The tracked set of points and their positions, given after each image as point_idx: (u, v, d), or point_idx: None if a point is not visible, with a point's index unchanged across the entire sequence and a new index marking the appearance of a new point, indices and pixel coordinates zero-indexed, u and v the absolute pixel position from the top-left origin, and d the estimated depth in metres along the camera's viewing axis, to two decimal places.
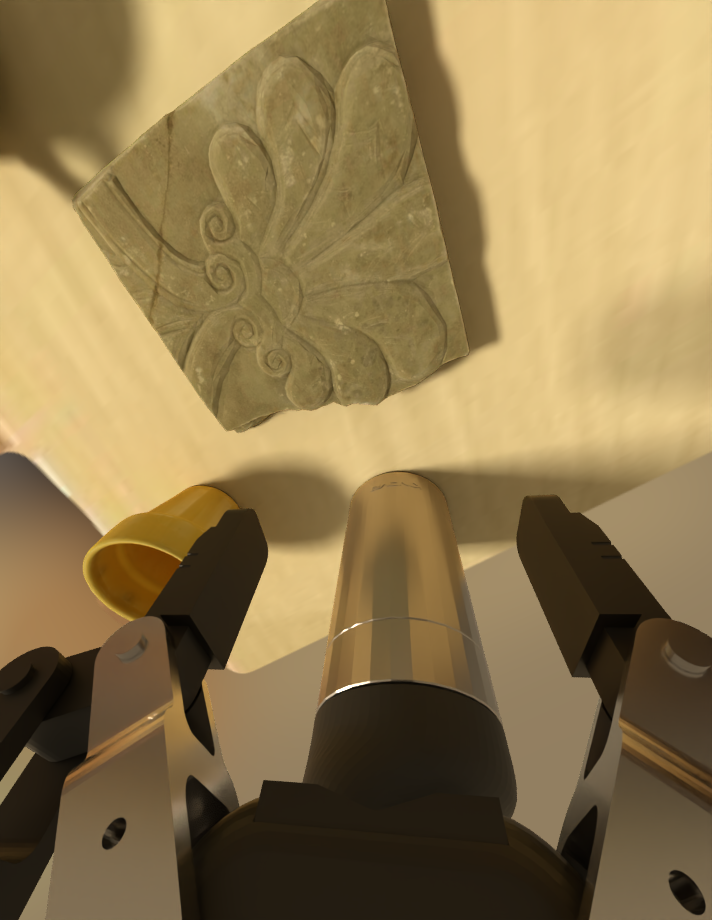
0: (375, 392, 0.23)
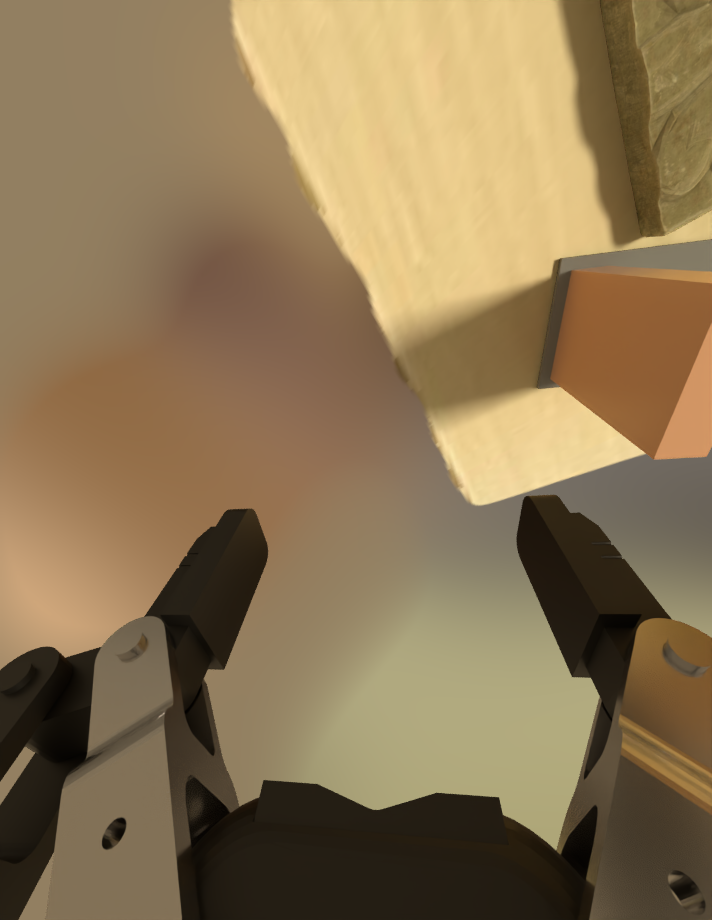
0: None
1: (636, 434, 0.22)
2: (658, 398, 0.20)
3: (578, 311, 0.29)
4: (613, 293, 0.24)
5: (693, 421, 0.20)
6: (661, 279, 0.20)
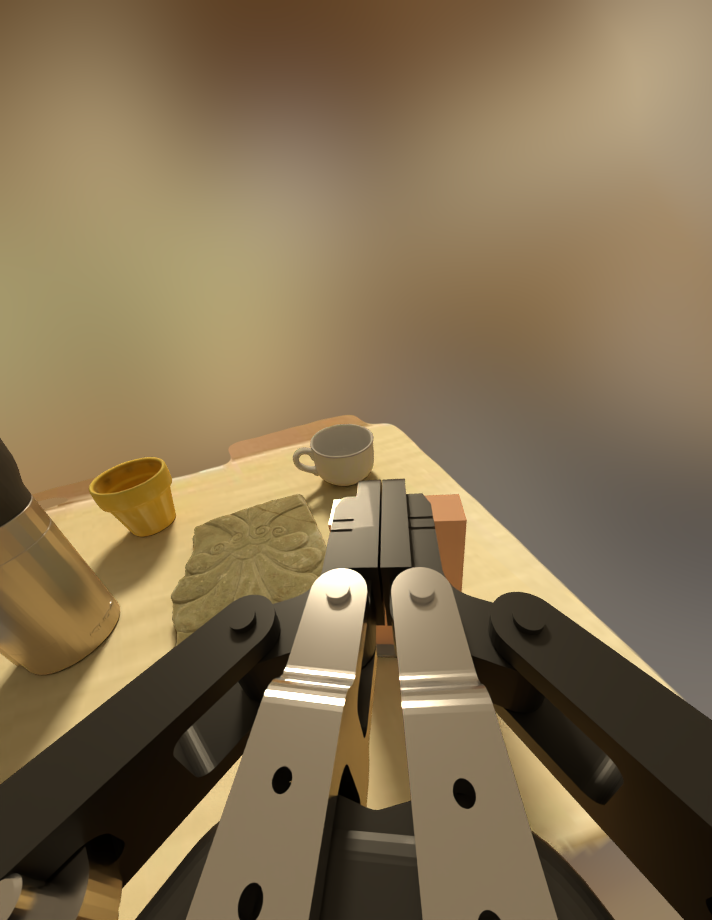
0: (179, 593, 0.38)
1: (454, 541, 0.24)
2: None
3: (383, 628, 0.31)
4: None
5: None
6: None
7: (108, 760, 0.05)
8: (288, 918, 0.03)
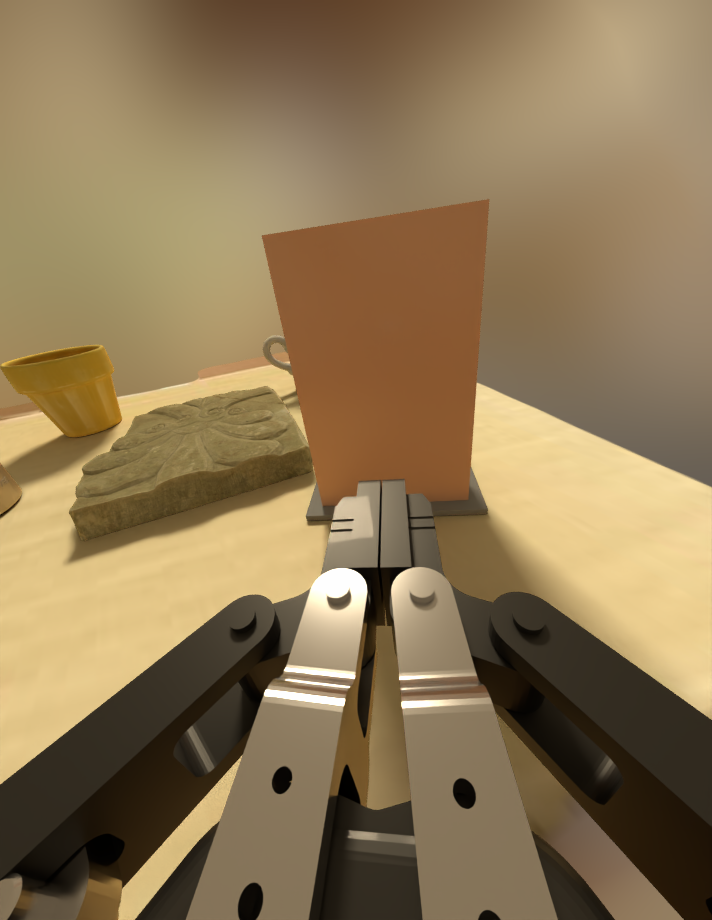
0: (92, 464, 0.28)
1: (468, 259, 0.15)
2: (403, 252, 0.15)
3: (360, 471, 0.21)
4: (321, 412, 0.19)
5: None
6: (285, 338, 0.17)
7: (110, 760, 0.05)
8: (288, 918, 0.03)
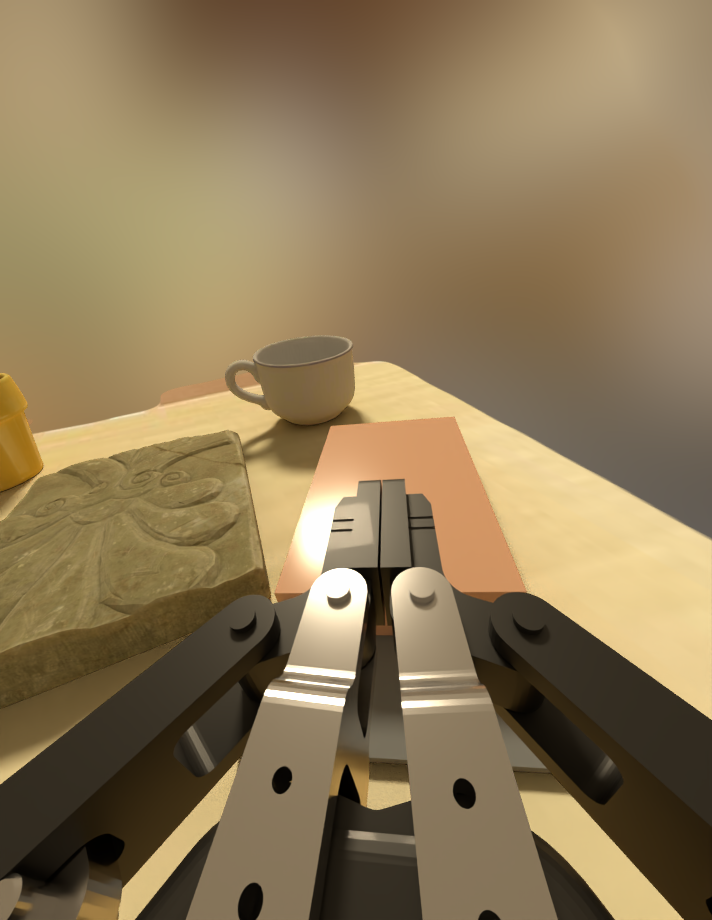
0: None
1: (448, 429, 0.24)
2: (409, 428, 0.25)
3: None
4: (328, 489, 0.20)
5: None
6: (321, 453, 0.23)
7: (109, 761, 0.05)
8: (288, 918, 0.03)
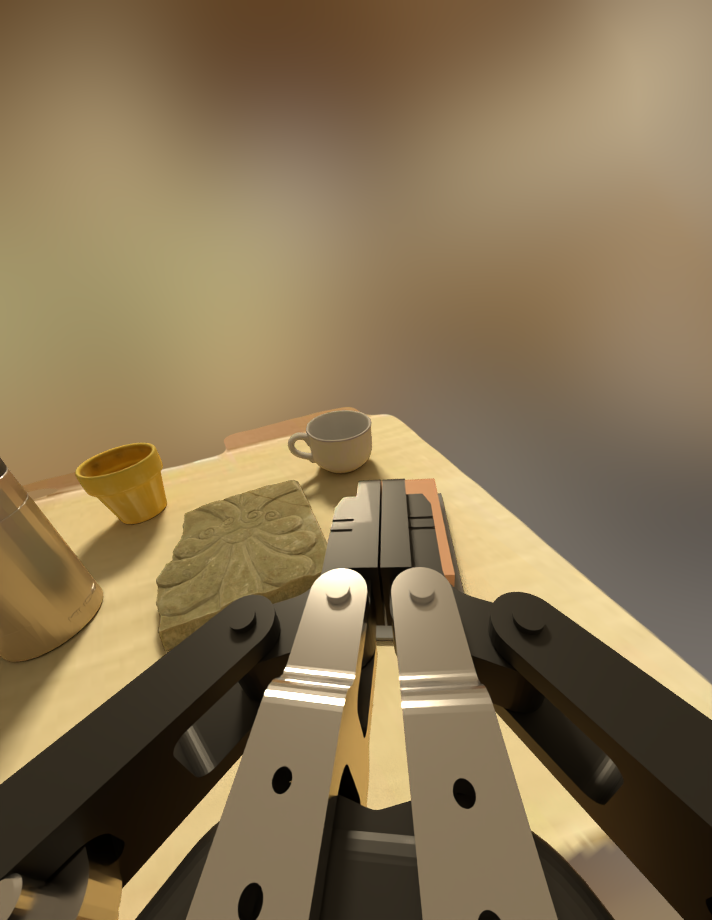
0: (164, 577, 0.36)
1: (430, 487, 0.42)
2: (407, 486, 0.43)
3: None
4: None
5: None
6: None
7: (108, 760, 0.05)
8: (288, 918, 0.03)
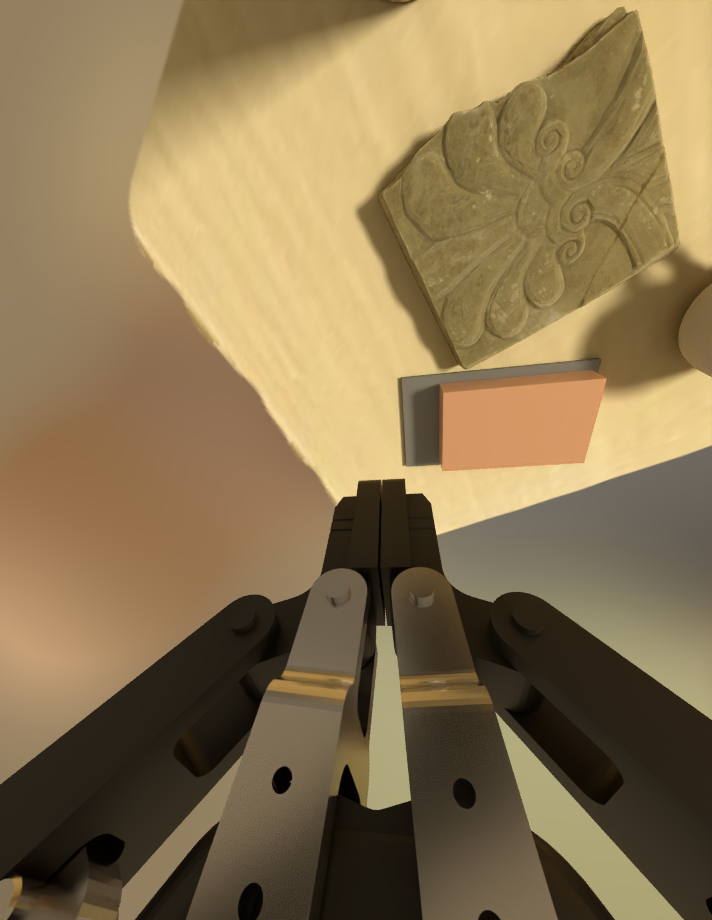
0: (456, 129, 0.25)
1: (565, 458, 0.38)
2: (577, 436, 0.36)
3: (468, 417, 0.36)
4: (512, 397, 0.35)
5: None
6: (558, 383, 0.33)
7: (109, 760, 0.05)
8: (288, 918, 0.03)
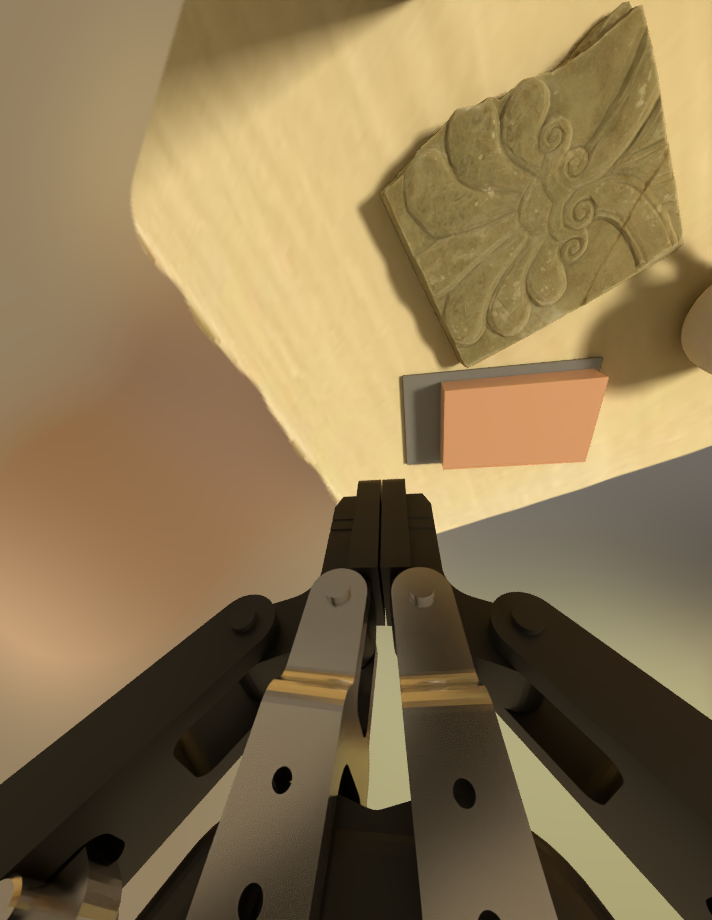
0: (459, 126, 0.25)
1: (567, 457, 0.38)
2: (578, 434, 0.36)
3: (469, 415, 0.36)
4: (513, 396, 0.35)
5: None
6: (560, 381, 0.33)
7: (109, 760, 0.05)
8: (288, 918, 0.03)
